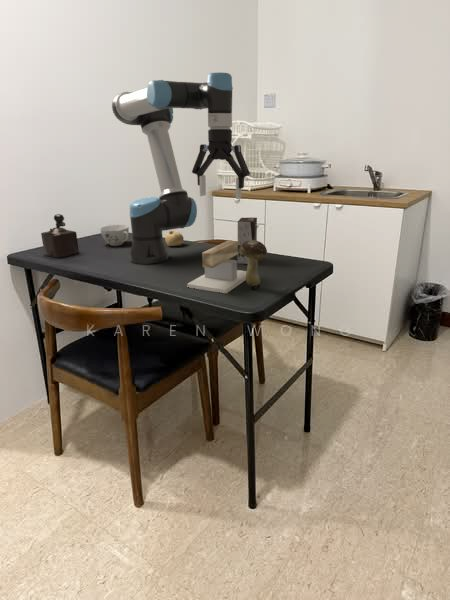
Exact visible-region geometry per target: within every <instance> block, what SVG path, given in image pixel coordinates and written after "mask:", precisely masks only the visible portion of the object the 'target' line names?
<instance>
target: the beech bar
mask: <svg viewBox="0 0 450 600" xmlns="http://www.w3.org/2000/svg"><path fill="white" fill-rule="evenodd" d="M201 254H202V255H201V256H202V257H201V258H202V259H201V261H202V268H205V267H208V268H214V267H215V266H217V265H219V264H221V263H223V262H224V261H226V260H228V259H229V260H231V259H232V258H234V257H235V256H238V240H237V241H235V240H229V239H228V240H226V241H224V242H222V243H220V244H218V245H215V246H214V247H212V248H209V249H207V250H204V251H203V252H201Z"/></svg>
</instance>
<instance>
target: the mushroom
mask: <svg viewBox="0 0 450 600" xmlns="http://www.w3.org/2000/svg"><path fill="white" fill-rule="evenodd" d="M240 251H241V253H242V254H243V255H245V256H247V257H248V264H247V267H246V271H247V272H246V280H245V281H246V285H248V286H249V287H250V288H251V289H252V290H257V289H259V287H261V278H260V275H259V272H258V265H259V261H261V260H264V259H265V258H266V257H267V255H268V250H267V247H266V245H264V243H262V242H261V241H259V240H257V241H256V240H249V241H246V242H244V243H243V244H241V246H240Z"/></svg>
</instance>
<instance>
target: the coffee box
mask: <svg viewBox="0 0 450 600" xmlns="http://www.w3.org/2000/svg"><path fill="white" fill-rule="evenodd" d="M257 222H258V218H257V217H241V218H239V219H238V221H237V241H238V254H237V264H243V265H248V257H247V256H245V255H243V254H242V253H241V251H240V246H241V244H243V243H244V242H246V241H249V240H256V241H258V240H257V239H258V223H257Z"/></svg>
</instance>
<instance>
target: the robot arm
mask: <svg viewBox="0 0 450 600" xmlns="http://www.w3.org/2000/svg"><path fill="white" fill-rule="evenodd" d="M232 77H233V76H232V75H231V74H230V73H228V72H211V73H209V74H207V78H206V79H207V80H206V82H194V81H193V82H192V81H191V82H190V81H189V82H188V81H173V80H172V81H171V80H164V79H158V80H156V79H155V80H151V81H149V82H148V85H147V87H145V88H142V89H138V90H136V91H134V92H133V91H131V92H129V91H123V92H120V93H118V94H117V95H115V96H114V98H113V100H112V102H111V103H112V104H111V109H112V113H113V115H114V116H115V118H116V119H118V121H120V122H121V123H123V124H125V125H129V126H140V127H141V132H142V133H143V134H144V135H146V136H147V137H146V138H147V141H148V144H149V148H150V152H151V153H150V154H151V156H152V157H151V158H152V161H153V164H154V169H155V173H156V176H157V177H156V178H157V182H158V185H159V189H160V190H159V191H160V195H159V197H157V196H152V197H145V198H139V199H135V200H134V201H132V202H131V203H130V204H129V217H130V218H129V219H130V228H131V235H132V236H131V237H132V242H131V248H130V251H129V260H130V262H132V263H134V264H143V265H145V264H146V265H148V264H149V265H150V264H157V263H163V262H164V261H167V260H168V259H169V251H168V250H167V246H166V243H165V241H164V239H163V231H171V230H177V229H185V228H188V227H191V226H193V224H194V223H195V221H196V218H197V217H198V216H197V215H198V213H197V212H198V209H197V208H198V206H197V203H196V200H195V199H194V198H193V197H190V196H189V195H188V192H187V190H185V189H184V188H183V187H182V182H181V178H180V173H179V170H178V165H177V162H176V157H175V154H174V151H173V149H174V148H173V146H172V141H171V136H170V133H169V130H170V128H171V126H172V125H171V124H172V123H173V121H174V109H191V110H203V109H205V110H207V124H208V128H209V129H208V130H207V133H208V135H207V138H208V144H202V143H201V144H200V145H199V152H198V154H197V157H196V160H195V163H194V165H193V168H192V170H191V173H192V174H194V175H196V176H197V185H198V186H199V196H200V197H203V196H206V195H207V191H206V189H207V188H206V187H207V185H206V184H207V183H206V175H204V174H205V172H206V171H207V169H208V168H209V167H210V165H211V164H212V163H213V161H214V160H221V161H226V162H227V163H228V165H229V166H230V167H231V169H232V170H233V171H234V173H235V175H236V176H237V178H235V200H240V199H242V191H243V189H244V187H245V178H247V177H249V176H250V175H251V172H250V170H249V168H248V165H247V162H246V160H245V158H244V155H243V152H242V146H241V144H238V145H237V144H236V145H233V144H232V142H233V131H232V129H231V128H232V127H233V78H232ZM207 152H209V154H208V155H207V156H206V154H207ZM232 152H233V153H234V155H232ZM205 156H206V159H205ZM234 156H235V158H236V160H235V159H234ZM204 159H205V161H204ZM203 161H204V162H203Z"/></svg>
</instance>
